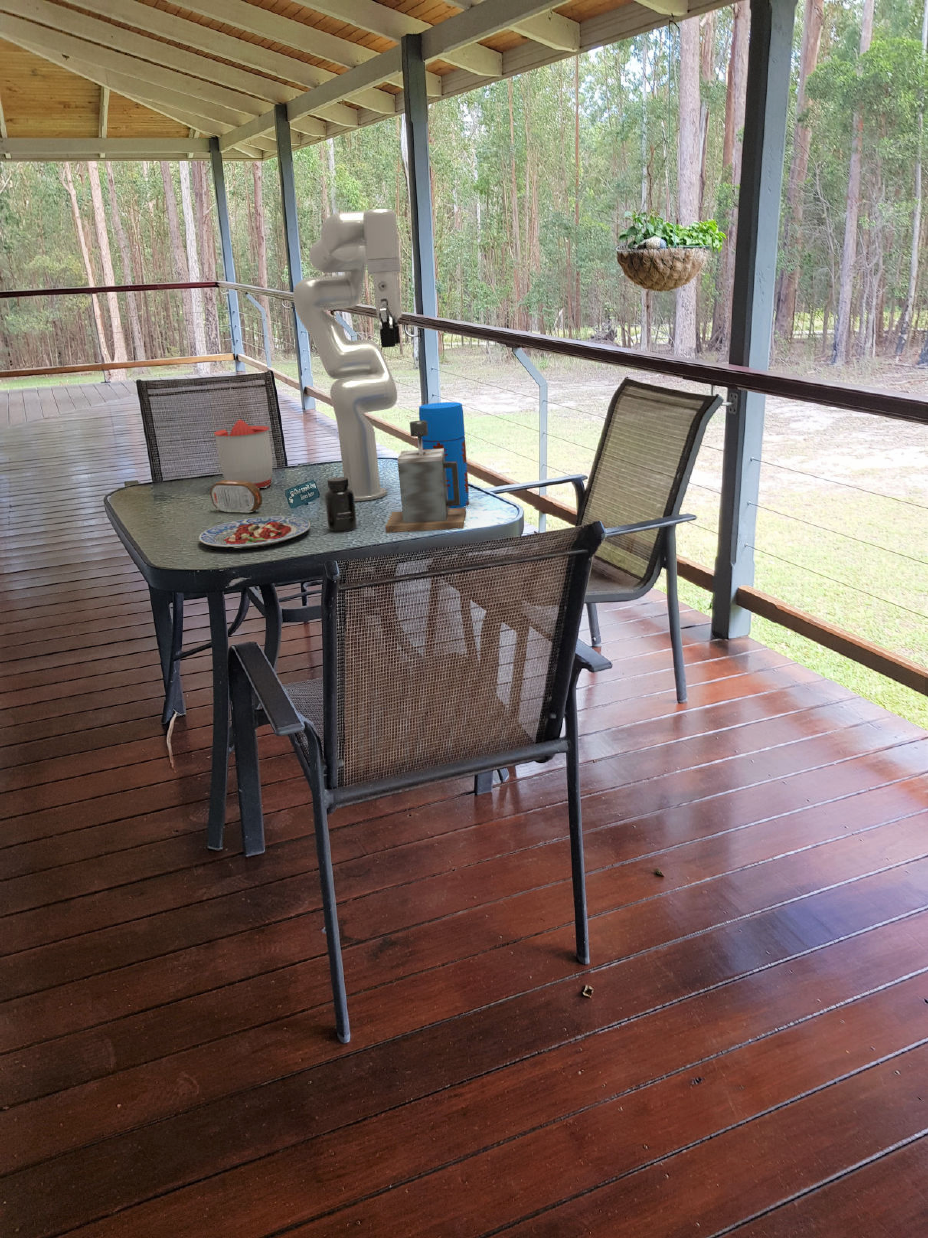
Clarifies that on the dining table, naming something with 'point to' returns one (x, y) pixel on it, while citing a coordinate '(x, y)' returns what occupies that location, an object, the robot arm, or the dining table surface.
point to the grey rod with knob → (419, 432)
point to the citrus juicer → (245, 454)
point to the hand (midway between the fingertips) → (391, 345)
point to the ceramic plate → (256, 531)
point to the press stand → (426, 493)
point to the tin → (236, 495)
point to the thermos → (448, 442)
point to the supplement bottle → (340, 505)
